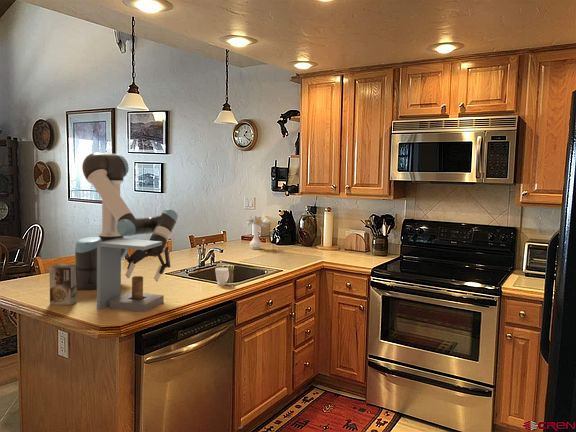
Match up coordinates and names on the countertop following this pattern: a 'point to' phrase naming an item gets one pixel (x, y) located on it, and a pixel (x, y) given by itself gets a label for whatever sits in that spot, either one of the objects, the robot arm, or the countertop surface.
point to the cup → (222, 275)
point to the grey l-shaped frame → (114, 266)
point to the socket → (136, 302)
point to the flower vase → (256, 231)
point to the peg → (137, 288)
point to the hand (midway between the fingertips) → (141, 278)
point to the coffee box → (63, 284)
